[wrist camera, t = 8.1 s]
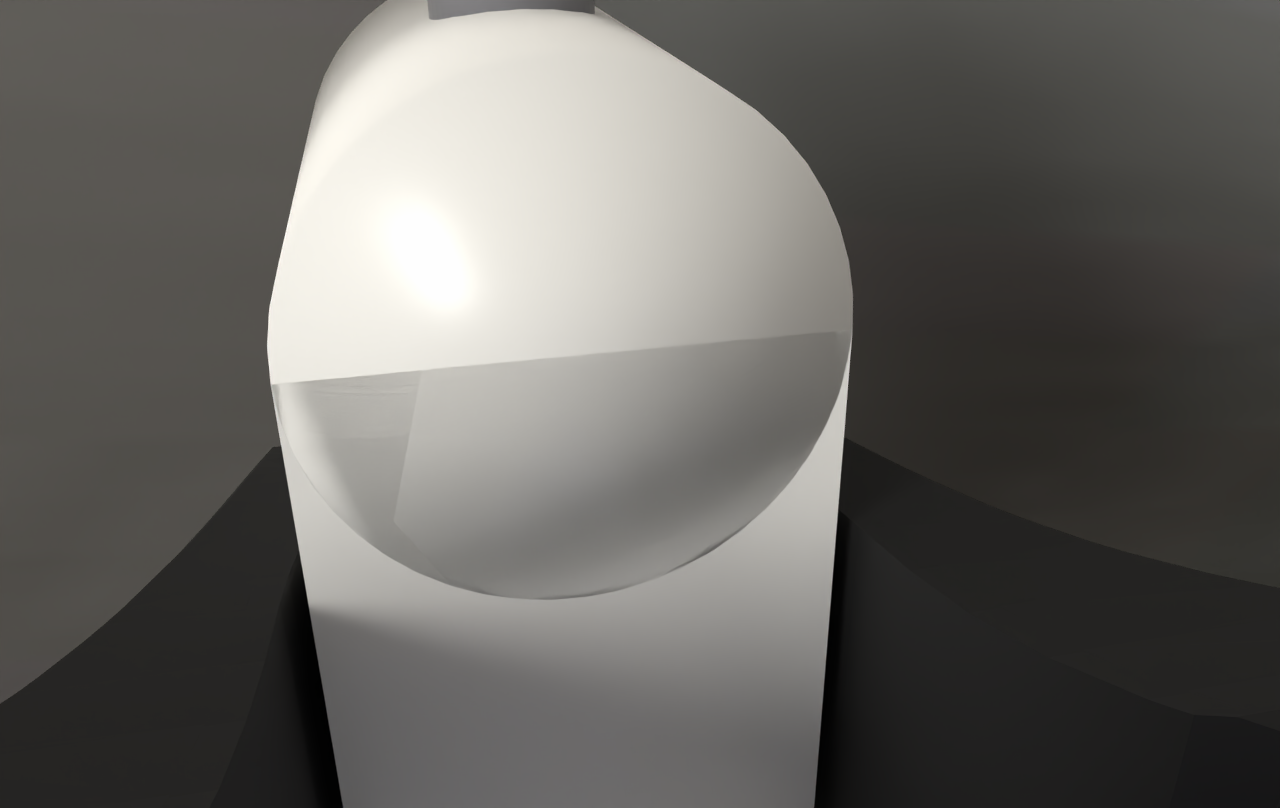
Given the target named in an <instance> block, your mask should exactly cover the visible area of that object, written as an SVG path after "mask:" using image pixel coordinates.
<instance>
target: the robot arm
mask: <svg viewBox="0 0 1280 808" xmlns="http://www.w3.org/2000/svg"><path fill="white" fill-rule="evenodd" d="M0 808H343V803H342V797H341V792H340V786H339V780H338V774H337V768H336V762H335V757H334V751H333V745H332V739H331V733H330V727H329V722H328V716H327V710H326V704H325V698H324V692H323V687H322V681H321V675H320V669H319V663H318V657H317V651H316V646H315V640H314V634H313V628H312V622H311V616H310V611H309V605H308V599H307V593H306V587H305V581H304V576H303V570H302V564H301V558H300V552H299V546H298V540H297V535H296V529H295V523H294V517H293V511H292V505H291V500H290V494H289V488H288V482H287V476H286V470H285V465H284V459H283V453H282V447H273V448H272V449H271V450H270V451H269V452H268V453H267V454H266V455H265V457H264V458H263V459H262V460H261V461H260V462H259V463H258V464H257V465H256V467H255V468H254V469H253V470H252V471H251V472H250V473H249V475H248V476H247V477H246V478H245V479H244V481H243V482H242V483H241V484H240V485H239V486H238V488H237V489H236V490H235V491H234V492H233V494H232V495H231V496H230V497H229V498H228V499H227V501H226V502H225V503H224V504H223V505H222V506H221V508H220V509H219V510H218V511H217V512H216V513H215V515H214V516H213V517H212V518H211V519H210V520H209V521H208V522H207V524H206V525H205V526H204V527H203V528H202V529H201V530H200V531H199V532H198V533H197V534H196V536H195V537H194V538H193V539H192V540H191V541H190V542H189V543H188V544H187V545H186V547H185V548H184V549H183V550H182V551H181V552H180V553H179V554H178V555H177V556H176V557H175V558H174V559H173V560H172V561H171V562H170V563H169V564H168V565H167V566H166V567H165V568H164V569H163V570H162V571H161V572H160V573H159V574H158V575H157V576H156V577H155V578H153V579H152V580H151V581H150V582H149V583H148V584H147V585H146V586H145V587H144V588H143V589H142V590H141V591H140V592H139V593H138V594H137V595H136V596H135V597H134V598H133V599H132V600H131V601H130V602H129V603H128V604H127V605H126V606H125V607H124V608H123V609H121V610H120V611H119V612H118V613H117V614H116V615H115V616H113V617H112V618H111V619H110V620H109V621H108V622H107V623H106V624H104V625H103V626H102V627H101V628H100V629H98V630H97V631H96V632H95V633H94V634H92V635H91V636H90V637H89V638H88V639H86V640H85V641H84V642H83V643H82V644H80V645H79V646H78V647H77V648H75V649H74V650H73V651H71V652H70V653H69V654H68V655H66V656H65V657H64V658H62V659H61V660H60V661H59V662H57V663H56V664H55V665H53V666H52V667H51V668H49V669H48V670H47V671H46V672H44V673H43V674H42V675H40V676H39V677H38V678H37V679H35V680H34V681H32V682H31V683H30V684H28V685H27V686H26V687H24V688H23V689H22V690H20V691H19V692H17V693H16V694H14V695H13V696H11V697H10V698H8V699H7V700H5V701H4V702H2V703H1V704H0ZM814 808H1280V588H1277V587H1271V586H1265V585H1261V584H1256V583H1251V582H1247V581H1242V580H1237V579H1233V578H1228V577H1223V576H1218V575H1214V574H1209V573H1205V572H1201V571H1197V570H1193V569H1189V568H1185V567H1181V566H1177V565H1174V564H1170V563H1166V562H1162V561H1158V560H1154V559H1150V558H1146V557H1142V556H1138V555H1135V554H1131V553H1127V552H1124V551H1120V550H1117V549H1114V548H1110V547H1107V546H1103V545H1100V544H1097V543H1093V542H1090V541H1087V540H1084V539H1081V538H1078V537H1075V536H1072V535H1069V534H1066V533H1063V532H1061V531H1058V530H1055V529H1052V528H1049V527H1046V526H1043V525H1040V524H1037V523H1034V522H1031V521H1028V520H1026V519H1023V518H1020V517H1017V516H1015V515H1012V514H1010V513H1007V512H1004V511H1002V510H999V509H997V508H994V507H992V506H989V505H987V504H984V503H982V502H980V501H977V500H975V499H973V498H970V497H968V496H966V495H964V494H961V493H959V492H957V491H954V490H952V489H950V488H947V487H945V486H943V485H940V484H938V483H936V482H934V481H932V480H929V479H927V478H925V477H923V476H921V475H919V474H917V473H915V472H912V471H910V470H908V469H906V468H904V467H902V466H900V465H898V464H896V463H894V462H892V461H890V460H888V459H886V458H884V457H882V456H880V455H878V454H876V453H874V452H872V451H870V450H868V449H866V448H864V447H862V446H860V445H858V444H856V443H854V442H852V441H850V440H848V439H846V438H845V437H844V442H843V454H842V466H841V479H840V491H839V504H838V516H837V529H836V541H835V553H834V566H833V578H832V591H831V603H830V616H829V628H828V640H827V653H826V665H825V678H824V690H823V703H822V715H821V727H820V740H819V752H818V765H817V777H816V790H815V802H814Z"/></svg>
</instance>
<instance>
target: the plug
mask: <svg viewBox="0 0 1280 808" xmlns="http://www.w3.org/2000/svg"><path fill="white" fill-rule="evenodd" d="M852 330H853V291H852V283H851V274H850V266H849V260H848V256H847V252H846V248H845V245H844V241H843V237H842V233H841V229H840V226H839V224H838V222H837V219H836V217H835V214H834V212H833V210H832V207H831V205H830V203H829V200H828V198H827V196H826V194H825V192H824V190H823V189H822V187H821V185H820V184H819V182H818V180H817V179H816V177H815V175H814V174H813V172H812V171H811V169H810V167H809V166H808V164H807V163H806V161H805V160H804V159H803V158H802V157H801V155H800V154H799V153H798V152H797V151H796V149H795V148H794V147H793V146H792V144H791V143H790V142H789V141H788V140H787V138H786V137H785V136H784V135H783V134H782V133H781V132H780V131H779V130H778V129H776V128H775V127H774V126H773V125H772V124H771V123H770V122H769V121H768V120H766V119H765V118H764V117H763V116H762V115H761V114H760V113H759V112H758V111H757V110H755V109H754V108H752V107H751V106H749V105H748V104H746V103H745V102H743V101H742V100H740V99H739V98H737V97H736V96H734V95H733V94H731V93H730V92H728V91H727V90H725V89H724V88H722V87H721V86H719V85H718V84H716V83H715V82H713V81H711V80H710V79H708V78H707V77H705V76H704V75H702V74H701V73H699V72H697V71H696V70H694V69H693V68H691V67H690V66H688V65H686V64H685V63H683V62H682V61H680V60H679V59H677V58H675V57H674V56H672V55H671V54H669V53H668V52H666V51H664V50H663V49H661V48H660V47H658V46H657V45H655V44H653V43H652V42H650V41H649V40H647V39H646V38H644V37H643V36H641V35H639V34H638V33H636V32H635V31H633V30H632V29H630V28H628V27H627V26H625V25H624V24H622V23H621V22H619V21H617V20H616V19H614V18H613V17H611V16H610V15H608V14H606V13H605V12H603V11H602V10H600V9H599V8H597V7H595V5H594V0H387V1H385V2H384V3H383V4H382V5H380V6H379V7H378V8H377V9H375V10H374V11H373V12H371V13H370V14H369V15H368V16H367V17H366V18H365V19H364V20H363V21H362V22H361V23H360V24H359V25H358V26H357V27H356V28H355V29H354V30H353V31H352V32H351V33H350V35H349V36H348V37H347V39H346V40H345V42H344V43H343V44H342V46H341V47H340V48H339V50H338V51H337V53H336V54H335V56H334V58H333V60H332V62H331V64H330V66H329V68H328V70H327V71H326V73H325V75H324V78H323V81H322V84H321V86H320V89H319V92H318V95H317V98H316V102H315V106H314V110H313V115H312V119H311V124H310V128H309V132H308V137H307V141H306V146H305V150H304V154H303V159H302V163H301V168H300V172H299V176H298V181H297V185H296V190H295V194H294V198H293V203H292V207H291V212H290V216H289V220H288V225H287V229H286V234H285V238H284V242H283V247H282V251H281V256H280V260H279V264H278V269H277V273H276V278H275V283H274V288H273V293H272V298H271V303H270V308H269V324H268V342H267V350H268V360H269V371H270V381H271V389H272V394H273V400H274V406H275V412H276V418H277V424H278V430H279V435H280V441H281V447H282V453H283V459H284V465H285V470H286V476H287V482H288V488H289V494H290V500H291V505H292V511H293V517H294V523H295V529H296V535H297V540H298V546H299V552H300V558H301V564H302V570H303V576H304V581H305V587H306V593H307V599H308V605H309V611H310V616H311V622H312V628H313V634H314V640H315V646H316V651H317V657H318V663H319V669H320V675H321V681H322V687H323V692H324V698H325V704H326V710H327V716H328V722H329V727H330V733H331V739H332V745H333V751H334V757H335V762H336V768H337V774H338V780H339V786H340V792H341V797H342V803H343V808H814V802H815V790H816V777H817V765H818V752H819V740H820V727H821V715H822V703H823V690H824V678H825V665H826V653H827V640H828V628H829V616H830V603H831V591H832V578H833V566H834V553H835V541H836V529H837V516H838V504H839V491H840V479H841V466H842V454H843V442H844V429H845V417H846V404H847V392H848V379H849V367H850V355H851V342H852Z"/></svg>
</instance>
